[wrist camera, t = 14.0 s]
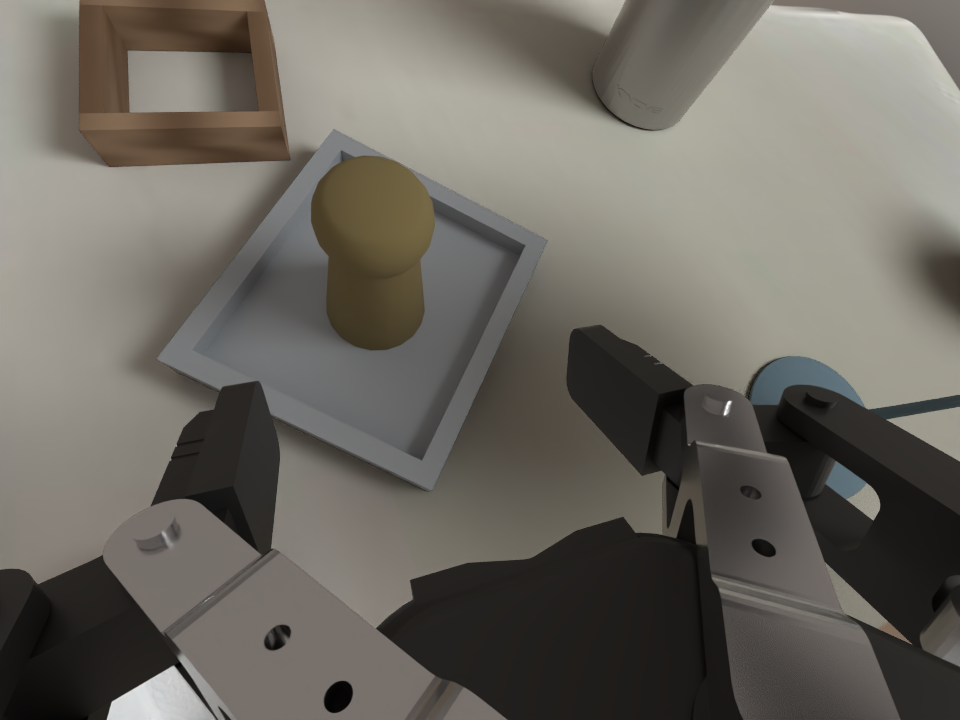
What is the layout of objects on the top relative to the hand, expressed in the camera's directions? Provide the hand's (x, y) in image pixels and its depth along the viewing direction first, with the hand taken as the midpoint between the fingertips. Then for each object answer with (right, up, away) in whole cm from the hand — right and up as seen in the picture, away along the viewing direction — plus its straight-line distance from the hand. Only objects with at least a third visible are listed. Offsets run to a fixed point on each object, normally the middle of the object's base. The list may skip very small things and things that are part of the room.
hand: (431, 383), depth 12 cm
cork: (-5, +4, +17) cm, 18 cm away
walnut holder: (-18, +19, +20) cm, 33 cm away
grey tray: (-5, +4, +18) cm, 19 cm away
